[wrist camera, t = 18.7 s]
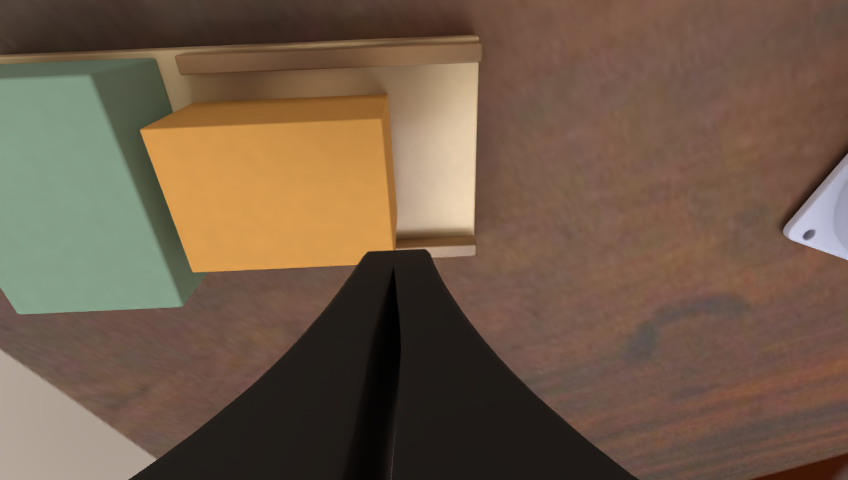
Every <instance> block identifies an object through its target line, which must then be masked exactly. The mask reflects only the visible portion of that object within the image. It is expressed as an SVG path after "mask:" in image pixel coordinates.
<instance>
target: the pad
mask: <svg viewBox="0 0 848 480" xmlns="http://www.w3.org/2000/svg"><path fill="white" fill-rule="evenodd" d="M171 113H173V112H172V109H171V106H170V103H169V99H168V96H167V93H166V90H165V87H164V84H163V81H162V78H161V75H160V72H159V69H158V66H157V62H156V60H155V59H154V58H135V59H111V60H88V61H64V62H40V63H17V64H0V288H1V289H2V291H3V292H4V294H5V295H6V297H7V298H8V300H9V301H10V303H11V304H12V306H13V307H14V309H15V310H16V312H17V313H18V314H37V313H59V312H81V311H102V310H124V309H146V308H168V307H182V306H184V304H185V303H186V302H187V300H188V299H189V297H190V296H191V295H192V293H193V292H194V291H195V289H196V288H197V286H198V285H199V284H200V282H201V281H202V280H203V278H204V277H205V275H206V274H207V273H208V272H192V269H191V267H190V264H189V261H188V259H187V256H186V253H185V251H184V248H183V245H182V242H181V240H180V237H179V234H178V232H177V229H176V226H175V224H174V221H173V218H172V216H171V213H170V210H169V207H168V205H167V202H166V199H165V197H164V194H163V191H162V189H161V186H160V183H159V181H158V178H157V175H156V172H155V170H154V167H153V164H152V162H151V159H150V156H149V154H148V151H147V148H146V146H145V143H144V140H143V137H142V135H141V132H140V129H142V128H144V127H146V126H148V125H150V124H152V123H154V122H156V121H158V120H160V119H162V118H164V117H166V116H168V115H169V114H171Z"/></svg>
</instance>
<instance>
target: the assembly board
mask: <svg viewBox="0 0 848 480" xmlns="http://www.w3.org/2000/svg"><path fill="white" fill-rule="evenodd" d="M482 47H483V44H482V43H481V42H480V41H479V37H477V36H476V35H458V36H434V37H410V38H387V39H363V40H339V41H316V42H292V43H268V44H245V45H221V46H197V47H174V48H150V49H126V50H102V51H79V52H55V53H31V54H8V55H0V64H17V63H40V62H64V61H88V60H111V59H135V58H154V59H155V60H156V62H157V66H158V69H159V72H160V75H161V78H162V81H163V84H164V87H165V90H166V93H167V96H168V99H169V103H170V106H171V109H172V112H175V111H177V110H179V109H181V108H183V107H185V106H187V105H189V104H191V103H195V102H218V101H240V100H262V99H285V98H307V97H329V96H351V95H374V94H387V95H388V105H389V118H390V131H391V144H392V157H393V170H394V183H395V196H396V209H397V229H396V246H395V250H410V249H426V250H427V251H428V252H429V253H431V257H432V258H445V257H467V256H476V249H477V244H476V241H475V237H474V221H475V182H476V144H477V105H478V66H479V62H482Z"/></svg>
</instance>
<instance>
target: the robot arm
mask: <svg viewBox="0 0 848 480" xmlns="http://www.w3.org/2000/svg"><path fill="white" fill-rule="evenodd" d="M805 232H806V233H805ZM804 233H805V234H804ZM783 234H784V235H785V236H786V237H787V238H789V239H791V240H792V241H795V242H798V243H801V244H804V245H807V246H810V247H812V248H815V249H818V250H821V251H824V252H827V253H829V254H832V255H835V256H838V257H841V258H844V259H846V260H848V153H847V155H846V156H845V157H844V158H843V159H842V160H841V162H840V163H839V164H838V165H837V166H836V167H835V168H834V170H833V171H832V172H831V173H830V174H829V175H828V177H827V178H826V179H825V180H824V181H823V182H822V184H821V185H820V186H819V187H818V188H817V189H816V191H815V192H814V193H813V194H812V195H811V196H810V197H809V199H808V200H807V201H806V202H805V203H804V204H803V206H802V207H801V208H800V209H799V210H798V211H797V213H796V214H795V215H794V216H793V217H792V218H791V219H790V221H789V222H788V223H787V224H786V226H785V227H784V229H783ZM395 430H396V433H395ZM394 439H395V445H394ZM393 448H394V457H393ZM392 457H393V468H392V480H639V479H637V478H636V477H634V476H633V475H631V474H630V473H629V472H627V471H626V470H625V469H624V468H622V467H621V466H620V465H618V464H617V463H616V462H615V461H613V460H612V459H611V458H609V457H608V456H607V455H606V454H604V453H603V452H602V451H601V450H599V449H598V448H597V447H595V446H594V445H593V444H592V443H590V442H589V441H588V440H587V439H585V438H584V437H583V436H582V435H581V434H580V433H579V432H577V431H576V430H575V429H574V428H573V427H572V426H571V425H569V424H568V423H567V422H566V421H565V420H564V419H563V418H561V417H560V416H559V415H558V414H557V413H556V412H555V411H553V410H552V409H551V408H550V407H549V406H548V405H546V404H545V403H544V402H543V401H542V400H541V399H540V398H538V397H537V396H536V395H535V394H534V393H533V392H532V391H531V390H530V389H529V388H528V387H527V386H526V385H525V384H524V383H523V382H522V381H521V380H520V379H519V378H518V377H517V376H516V375H515V374H514V373H513V372H512V371H511V370H510V369H509V368H508V366H507V365H506V364H505V363H504V362H503V361H502V360H501V359H500V358H499V357H498V356H497V355H496V353H495V352H494V351H493V350H492V349H491V348H490V347H489V345H488V344H487V343H486V342H485V341H484V339H483V338H482V337H481V336H480V334H479V333H478V332H477V331H476V329H475V328H474V327H473V325H472V324H471V323H470V322H469V320H468V319H467V317H466V316H465V315H464V313H463V312H462V310H461V309H460V307H459V306H458V304H457V303H456V301H455V300H454V298H453V297H452V295H451V294H450V292H449V291H448V289H447V287H446V286H445V284H444V282H443V281H442V279H441V277H440V275H439V273H438V271H437V269H436V267H435V265H434V263H433V260H432V257H431V253H429V252H428V251H427V250H426V249H410V250H388V251H368V252H367V253H366V254H365V255H364V256H363V257H362V259H361V260H360V262H359V263H358V265H357V266H356V268H355V269H354V271H353V272H352V274H351V275H350V277H349V278H348V279H347V281H346V282H345V284H344V285H343V286H342V288H341V289H340V290H339V292H338V293H337V294H336V295H335V297H334V298H333V299H332V301H331V302H330V303H329V304H328V306H327V307H326V308H325V310H324V311H323V312H322V313H321V314H320V316H319V317H318V318H317V319H316V320H315V321H314V322H313V324H312V325H311V326H310V327H309V328H308V329H307V330H306V332H305V333H304V334H303V335H302V336H301V337H300V338H299V339H298V341H297V342H296V343H295V344H294V345H293V346H292V347H291V348H290V349H289V350H288V351H287V352H286V353H285V354H284V355H283V356H282V357H281V358H280V359H279V360H278V361H277V362H276V363H275V364H274V365H273V366H272V367H271V368H270V369H269V370H268V371H267V372H266V373H265V374H264V375H263V376H262V377H260V378H259V379H258V380H257V381H256V382H255V383H254V384H253V385H252V386H251V387H249V388H248V389H247V390H246V391H245V392H244V393H242V394H241V395H240V396H239V397H238V398H236V399H235V400H234V401H233V402H231V403H230V404H229V405H228V406H227V407H225V408H224V409H223V410H222V411H220V412H219V413H218V414H217V415H216V416H214V417H213V418H212V419H211V420H209V421H208V422H207V423H206V424H205V425H203V426H202V427H201V428H200V429H198V430H197V431H196V432H194V433H193V434H192V435H190V436H189V437H188V438H186V439H185V440H184V441H182V442H181V443H180V444H178V445H177V446H175V447H174V448H173V449H171V450H170V451H169V452H167V453H166V454H165V455H163V456H162V457H160V458H159V459H158V460H156V461H155V462H153V463H152V464H150V465H149V466H148V467H146V468H145V469H144V470H142V471H140V472H139V473H138V474H136V475H135V476H133V477H132V478H130V479H129V480H391V466H392Z"/></svg>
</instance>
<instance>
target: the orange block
mask: <svg viewBox="0 0 848 480" xmlns="http://www.w3.org/2000/svg"><path fill="white" fill-rule="evenodd" d="M140 132H141V135H142V137H143V140H144V143H145V146H146V148H147V151H148V154H149V156H150V159H151V162H152V164H153V167H154V170H155V172H156V175H157V178H158V181H159V183H160V186H161V189H162V191H163V194H164V197H165V199H166V202H167V205H168V207H169V210H170V213H171V216H172V218H173V221H174V224H175V226H176V229H177V232H178V234H179V237H180V240H181V242H182V245H183V248H184V251H185V253H186V256H187V259H188V261H189V264H190V267H191V269H192V272H214V271H235V270H257V269H278V268H299V267H320V266H342V265H358V263H359V262H360V260H361V259H362V257H363V256H364V255H365V254H366V253H367V252H368V251H388V250H395V246H396V229H397V209H396V196H395V183H394V170H393V157H392V144H391V131H390V118H389V105H388V95H387V94H374V95H351V96H329V97H307V98H285V99H262V100H240V101H218V102H195V103H191V104H189V105H187V106H185V107H183V108H181V109H179V110H177V111H175V112H173V113H171V114H169V115H168V116H166V117H164V118H162V119H160V120H158V121H156V122H154V123H152V124H150V125H148V126H146V127H144V128H142V129H140Z"/></svg>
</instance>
